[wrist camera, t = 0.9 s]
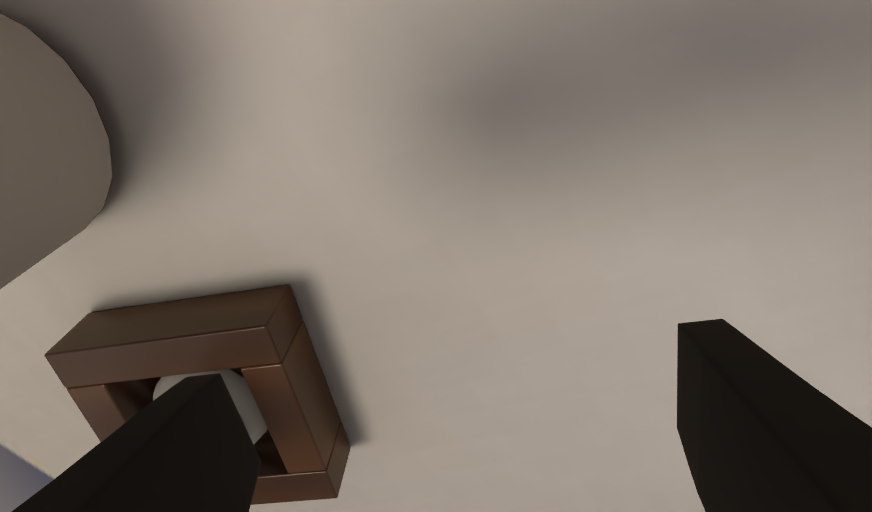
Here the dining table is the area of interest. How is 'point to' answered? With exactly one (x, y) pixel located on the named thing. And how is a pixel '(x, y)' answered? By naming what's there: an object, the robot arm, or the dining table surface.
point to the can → (45, 152)
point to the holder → (208, 351)
